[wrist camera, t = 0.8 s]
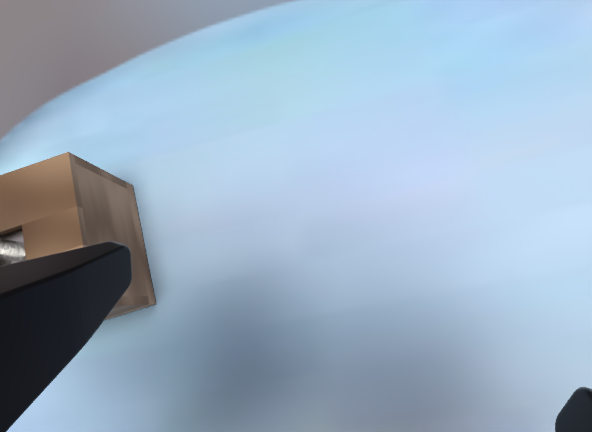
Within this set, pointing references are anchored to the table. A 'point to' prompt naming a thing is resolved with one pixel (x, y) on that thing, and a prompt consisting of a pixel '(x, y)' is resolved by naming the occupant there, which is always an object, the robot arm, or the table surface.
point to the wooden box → (76, 216)
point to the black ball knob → (12, 247)
